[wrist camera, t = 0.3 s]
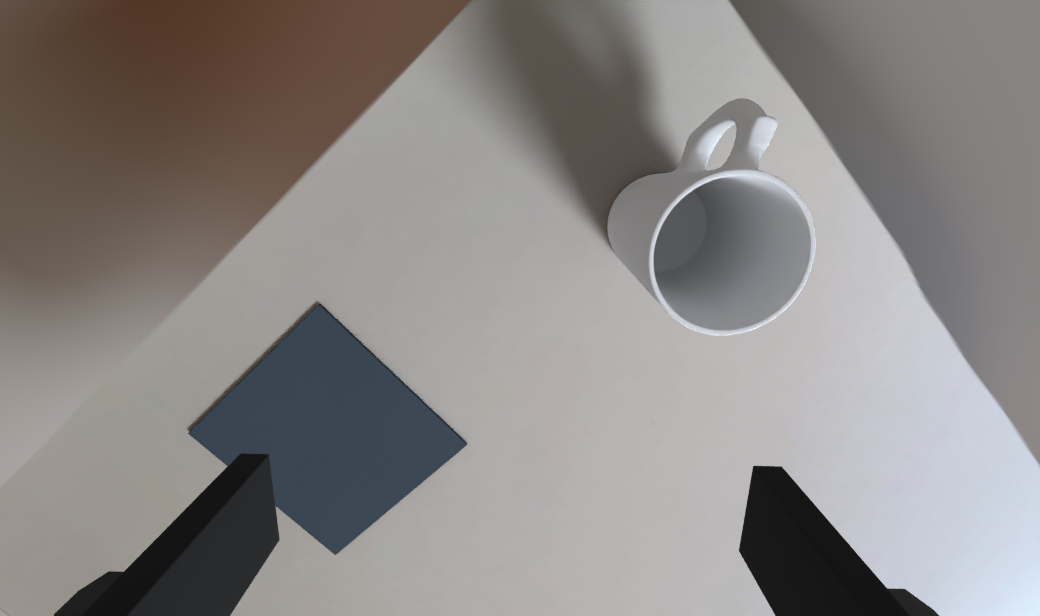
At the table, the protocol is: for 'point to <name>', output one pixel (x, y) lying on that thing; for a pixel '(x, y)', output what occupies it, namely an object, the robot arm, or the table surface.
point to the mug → (717, 230)
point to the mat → (330, 431)
